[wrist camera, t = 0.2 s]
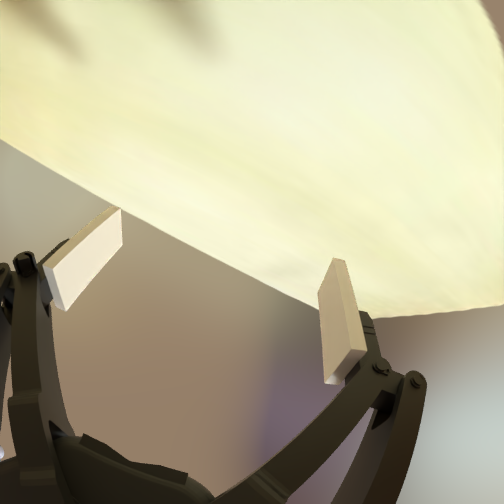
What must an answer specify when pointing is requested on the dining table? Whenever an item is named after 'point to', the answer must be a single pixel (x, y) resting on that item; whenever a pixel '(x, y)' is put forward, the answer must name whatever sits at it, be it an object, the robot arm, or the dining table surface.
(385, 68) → the dining table surface
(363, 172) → the dining table surface
